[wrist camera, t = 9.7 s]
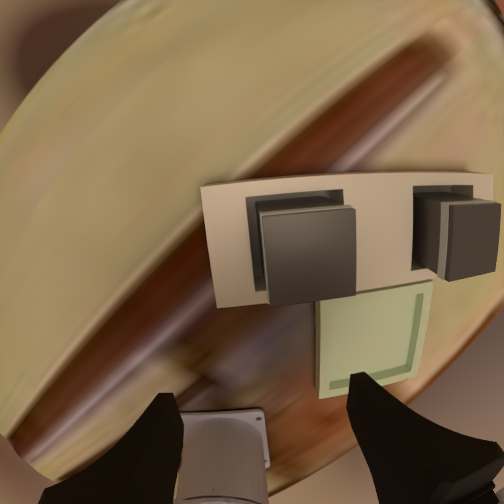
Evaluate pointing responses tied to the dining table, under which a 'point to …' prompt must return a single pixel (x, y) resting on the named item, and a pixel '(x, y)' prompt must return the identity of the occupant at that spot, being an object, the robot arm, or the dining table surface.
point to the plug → (455, 234)
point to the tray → (371, 336)
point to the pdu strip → (338, 189)
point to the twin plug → (307, 249)
